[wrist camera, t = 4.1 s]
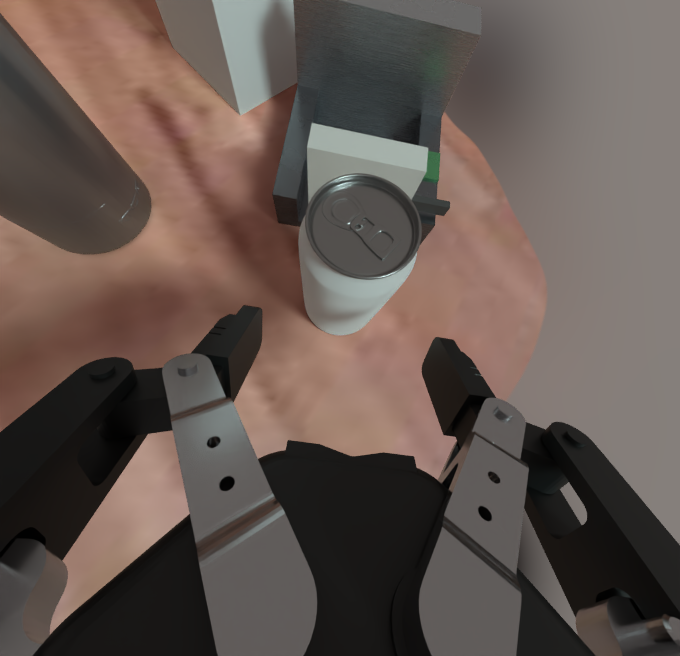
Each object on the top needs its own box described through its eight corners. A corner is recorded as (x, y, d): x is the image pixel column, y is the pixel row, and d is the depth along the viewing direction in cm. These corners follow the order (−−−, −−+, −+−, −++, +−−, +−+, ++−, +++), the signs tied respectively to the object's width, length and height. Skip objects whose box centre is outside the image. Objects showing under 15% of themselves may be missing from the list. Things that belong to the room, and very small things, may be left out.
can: (336, 257, 25) (357, 143, 13) (387, 300, 24) (456, 223, 13) (289, 303, 23) (265, 222, 11) (342, 351, 23) (373, 317, 11)
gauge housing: (278, 222, 25) (256, 121, 15) (304, 104, 28) (300, -39, 19) (417, 248, 26) (478, 168, 16) (426, 130, 29) (481, 7, 20)
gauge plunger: (308, 220, 24) (306, 147, 16) (312, 202, 24) (311, 122, 17) (427, 242, 25) (476, 182, 17) (428, 224, 25) (476, 158, 18)
